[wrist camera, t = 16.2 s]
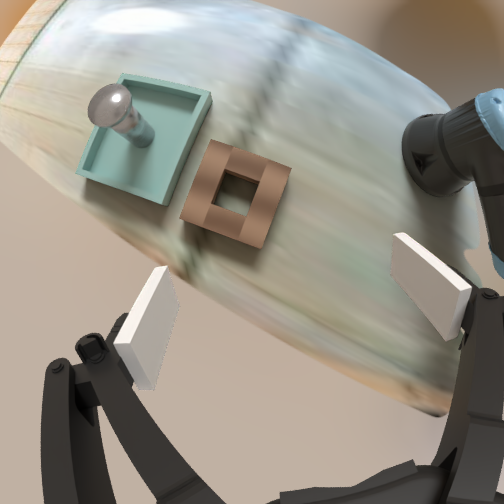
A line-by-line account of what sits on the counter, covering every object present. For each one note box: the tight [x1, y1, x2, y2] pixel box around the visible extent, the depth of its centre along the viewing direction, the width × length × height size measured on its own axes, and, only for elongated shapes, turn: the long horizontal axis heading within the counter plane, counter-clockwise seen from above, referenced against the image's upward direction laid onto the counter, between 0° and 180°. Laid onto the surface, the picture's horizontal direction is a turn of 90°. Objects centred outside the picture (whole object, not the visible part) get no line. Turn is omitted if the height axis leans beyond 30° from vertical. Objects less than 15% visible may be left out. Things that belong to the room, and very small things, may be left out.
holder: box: [179, 139, 292, 249], centre depth 40 cm, size 12×12×3 cm
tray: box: [75, 73, 213, 206], centre depth 39 cm, size 18×16×4 cm
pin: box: [88, 84, 155, 148], centre depth 33 cm, size 6×6×13 cm
